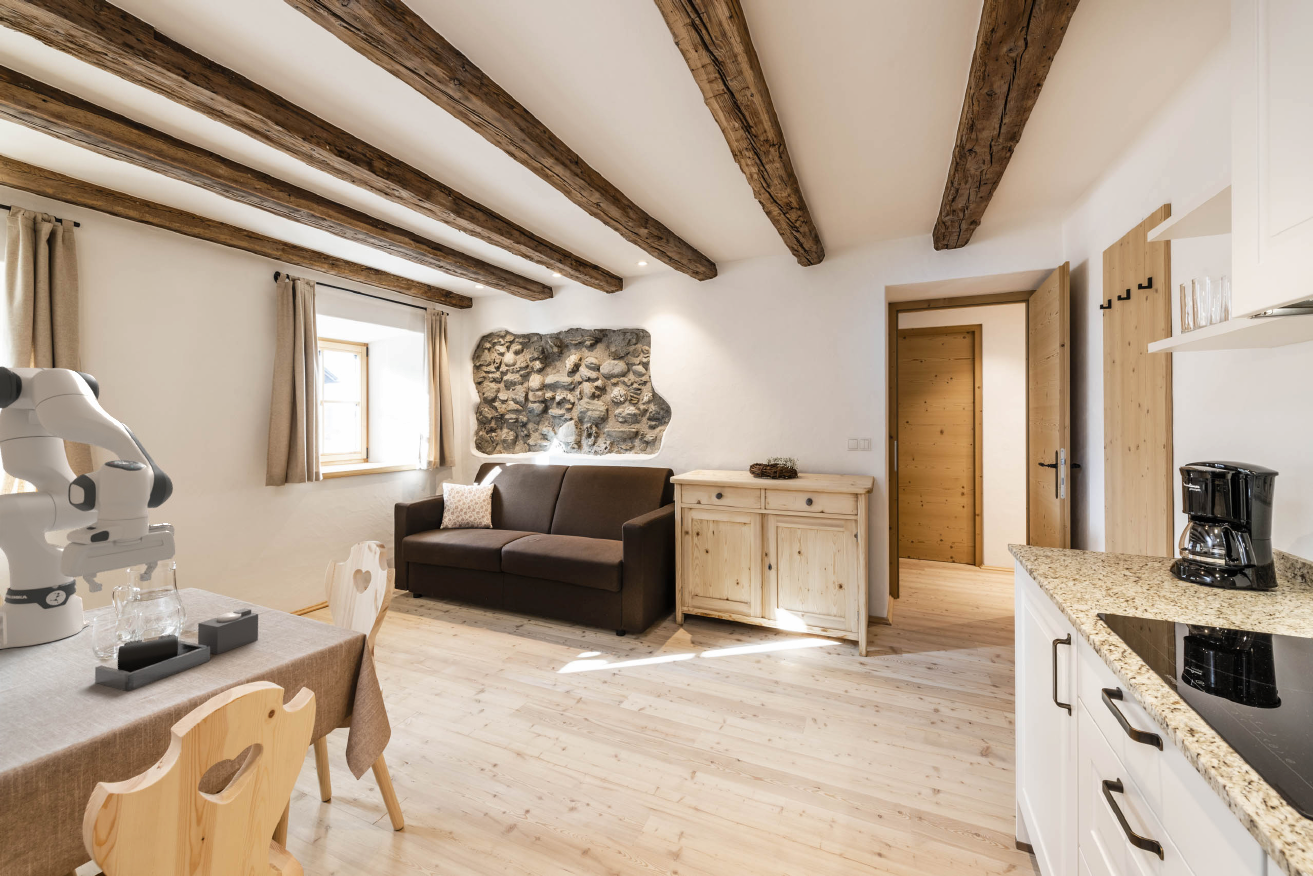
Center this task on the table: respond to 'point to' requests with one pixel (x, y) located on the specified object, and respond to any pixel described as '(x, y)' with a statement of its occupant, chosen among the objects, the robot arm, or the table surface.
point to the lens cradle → (154, 668)
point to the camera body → (228, 631)
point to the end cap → (146, 652)
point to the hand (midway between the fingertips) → (121, 585)
